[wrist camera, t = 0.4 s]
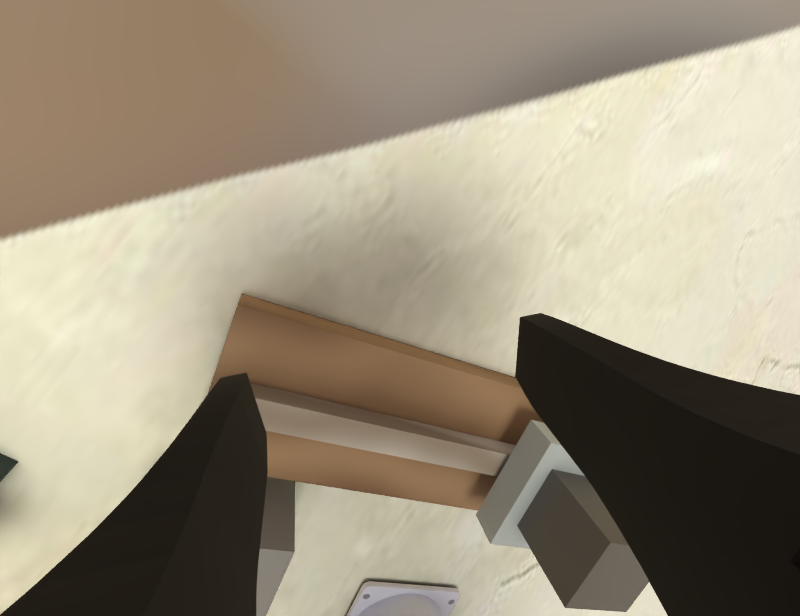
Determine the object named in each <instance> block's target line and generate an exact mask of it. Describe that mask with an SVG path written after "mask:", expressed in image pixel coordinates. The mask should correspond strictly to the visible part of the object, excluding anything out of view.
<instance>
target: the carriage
mask: <svg viewBox="0 0 800 616" xmlns="http://www.w3.org/2000/svg"><path fill="white" fill-rule="evenodd" d="M476 516H477V518H478V520H479V522H480V524H481V526H482V528H483V530H484V532H485V534H486V536H487V538H488V540H489V542H490V544H497V545H504V546H512V547H520V548H528V549H531V550H532V552H533V554H534V555H535V557H536V559H537V561H538V562H539V564H540V566H541V567H542V569H543V571H544V573H545V574H546V576H547V578H548V579H549V581H550V583H551V584H552V586H553V588H554V590H555V591H556V593H557V595H558V596H559V598H560V600H561V602H562V603H563V605H564V607H565V608H576V609H591V610H606V611H621V612H627V610H628V609H629V608H630V606H631V605H632V604H633V602H634V601H635V600H636V598H637V597H638V596H639V594H640V593H641V592H642V590H643V589H644V588H645V586H646V585H647V584H648V582H649V580H648V578H647V576H646V575H645V573H644V571H643V569H642V567H641V566H640V564H639V562H638V560H637V559H636V557H635V555H634V554H633V552H632V550H631V548H630V547H629V545H628V543H627V542H626V540H625V538H624V537H623V535H622V533H621V531H620V530H619V528H618V526H617V525H616V523H615V521H614V520H613V518H612V517H611V515H610V513H609V512H608V510H607V509H606V507H605V505H604V504H603V502H602V501H601V499H600V497H599V496H598V494H597V493H596V491H595V489H594V488H593V487H592V485H591V484H590V482H589V481H588V480H587V478H586V477H585V475H584V474H583V473H582V471H581V470H580V469H579V467H578V466H577V465H576V464H575V462H574V461H573V460H572V458H571V457H570V456H569V454H568V453H567V452H566V451H565V449H564V448H563V447H562V445H561V444H560V443H559V442H558V440H557V439H556V438H555V436H554V435H553V434H552V432H551V431H550V430H549V429H548V427H547V426H546V425H545V423H542V422H539V421H535V420H531V421H530V422H529V424H528V426H527V427H526V429H525V431H524V433H523V434H522V436H521V438H520V440H519V441H518V443H517V445H516V446H515V448H514V450H513V452H512V453H511V455H510V457H509V459H508V460H507V462H506V464H505V465H504V467H503V469H502V471H501V472H500V474H499V476H498V478H497V479H496V481H495V483H494V484H493V486H492V488H491V490H490V491H489V493H488V495H487V497H486V498H485V500H484V502H483V503H482V505H481V507H480V509H479V510H478V512H477V514H476Z"/></svg>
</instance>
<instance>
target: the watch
mask: <svg viewBox="0 0 800 616" xmlns="http://www.w3.org/2000/svg"><path fill="white" fill-rule="evenodd" d="M17 463H18V461H15V460H13V459H11V458H9V457H7V456H4V455H2V454H0V482H1V480H2V479H3V478H4V477H5V476H6V475H7V474H8V473H9V471H10V470H11V469H12V468H13V467H14V466H15V465H16V464H17Z"/></svg>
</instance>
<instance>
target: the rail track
mask: <svg viewBox="0 0 800 616" xmlns="http://www.w3.org/2000/svg"><path fill="white" fill-rule="evenodd" d="M246 372H247V375H248V378H249V381H250V384H251V387H252V390H253V393H254V397H255V400H256V403H257V406H258V409H259V412H260V415H261V418H262V421H263V424H264V427H265V430H266V433H267V465H268V473H267V477H272V478H279V479H285V480H291V481H297V482H304V483H310V484H316V485H322V486H329V487H335V488H341V489H347V490H354V491H360V492H366V493H372V494H379V495H385V496H391V497H397V498H404V499H410V500H416V501H422V502H429V503H435V504H441V505H448V506H454V507H460V508H466V509H473V510H479V509H480V507H481V505H482V503H483V502H484V500H485V498H486V497H487V495H488V493H489V491H490V490H491V488H492V486H493V484H494V483H495V481H496V479H497V478H498V476H499V474H500V472H501V471H502V469H503V467H504V465H505V464H506V462H507V460H508V459H509V457H510V455H511V453H512V452H513V450H514V448H515V446H516V445H517V443H518V441H519V440H520V438H521V436H522V434H523V433H524V431H525V429H526V427H527V426H528V424H529V422H530V421H531V420H535V421H539V422H542V423H544V422H543V421H542V419H541V418H540V417H539V415H538V414H537V413H536V411H535V410H534V409H533V407H532V405H531V404H530V402H529V400H528V399H527V397H526V395H525V394H524V392H523V390H522V388H521V386H520V384H519V383H518V381H517V379H516V378H514V377H511V376H508V375H504V374H501V373H498V372H495V371H491V370H488V369H485V368H482V367H478V366H475V365H472V364H469V363H465V362H462V361H459V360H456V359H452V358H449V357H446V356H443V355H439V354H436V353H433V352H429V351H426V350H423V349H420V348H416V347H413V346H410V345H407V344H403V343H400V342H397V341H394V340H390V339H387V338H384V337H381V336H377V335H374V334H371V333H367V332H364V331H361V330H358V329H354V328H351V327H348V326H345V325H341V324H338V323H335V322H332V321H328V320H325V319H322V318H319V317H315V316H312V315H309V314H306V313H302V312H299V311H296V310H292V309H289V308H286V307H283V306H279V305H276V304H273V303H270V302H266V301H263V300H260V299H257V298H253V297H250V296H247V295H244V294H242V295H241V298H240V301H239V303H238V306H237V309H236V312H235V315H234V318H233V321H232V324H231V327H230V330H229V333H228V336H227V339H226V342H225V345H224V348H223V351H222V354H221V357H220V360H219V363H218V366H217V369H216V372H215V375H214V378H213V381H212V384H211V386H210V389H209V392H210V391H211V390H212V388H213V387H214V386H215V384H216V383H217V382H218V380H219V379H220V378H222V377H227V376H232V375H236V374H241V373H246ZM209 392H208V394H209Z"/></svg>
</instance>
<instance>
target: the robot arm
mask: <svg viewBox="0 0 800 616" xmlns="http://www.w3.org/2000/svg"><path fill="white" fill-rule="evenodd" d="M515 377H516V379H517V381H518V383H519V384H520V386H521V388H522V390H523V392H524V394H525V395H526V397H527V399H528V400H529V402H530V404H531V405H532V407H533V409H534V410H535V411H536V413H537V414H538V415H539V417H540V418H541V419H542V421H543V422H544V423H545V425H546V426H547V427H548V429H549V430H550V431H551V432H552V434H553V435H554V436H555V438H556V439H557V440H558V442H559V443H560V444H561V445H562V447H563V448H564V449H565V451H566V452H567V453H568V454H569V456H570V457H571V458H572V460H573V461H574V462H575V464H576V465H577V466H578V467H579V469H580V470H581V471H582V473H583V474H584V475H585V477H586V478H587V480H588V481H589V482H590V484H591V485H592V487H593V488H594V489H595V491H596V493H597V494H598V496H599V497H600V499H601V501H602V502H603V504H604V505H605V507H606V509H607V510H608V512H609V513H610V515H611V517H612V518H613V520H614V521H615V523H616V525H617V526H618V528H619V530H620V531H621V533H622V535H623V537H624V538H625V540H626V542H627V543H628V545H629V547H630V548H631V550H632V552H633V554H634V555H635V557H636V559H637V560H638V562H639V564H640V566H641V567H642V569H643V571H644V573H645V575H646V576H647V578H648V580H649V582H650V584H651V586H652V587H653V589H654V591H655V593H656V595H657V596H658V598H659V600H660V602H661V604H662V606H663V607H664V609H665V611H666V613H667V615H668V616H800V395H796V394H791V393H786V392H781V391H776V390H771V389H767V388H763V387H758V386H754V385H749V384H745V383H741V382H736V381H733V380H729V379H725V378H721V377H717V376H713V375H710V374H707V373H703V372H700V371H696V370H693V369H689V368H686V367H682V366H679V365H676V364H673V363H670V362H667V361H664V360H661V359H658V358H656V357H653V356H650V355H647V354H644V353H642V352H639V351H636V350H633V349H631V348H628V347H626V346H623V345H620V344H618V343H615V342H613V341H610V340H608V339H605V338H603V337H600V336H598V335H596V334H593V333H591V332H588V331H586V330H583V329H581V328H579V327H576V326H574V325H571V324H569V323H566V322H564V321H561V320H559V319H556V318H554V317H551V316H548V315H545V314H542V313H539V314H534V315H529V316H524V317H520V324H519V337H518V350H517V362H516V375H515ZM267 473H268V465H267V433H266V430H265V427H264V424H263V421H262V418H261V415H260V412H259V409H258V406H257V403H256V400H255V397H254V393H253V390H252V387H251V384H250V381H249V378H248V375H247V372H246V373H241V374H236V375H232V376H227V377H222V378H220V379H219V380H218V382H217V383H216V384H215V386H214V387H213V388H212V390H211V391H210V392H209V394H208V395H207V396H206V398H205V399H204V401H203V402H202V403H201V405H200V406H199V408H198V409H197V410H196V412H195V413H194V414H193V416H192V417H191V419H190V420H189V421H188V423H187V424H186V425H185V427H184V428H183V429H182V431H181V432H180V433H179V435H178V436H177V437H176V438H175V440H174V441H173V442H172V444H171V445H170V446H169V448H168V449H167V450H166V451H165V452H164V454H163V455H162V456H161V457H160V458H159V460H158V461H157V462H156V463H155V464H154V466H153V467H152V468H151V469H150V470H149V472H148V473H147V474H146V475H145V476H144V478H143V479H142V480H141V481H140V482H139V483H138V485H137V486H136V487H135V488H134V489H133V490H132V491H131V492H130V493H129V494H128V496H127V497H126V498H125V499H124V500H123V501H122V502H121V503H120V504H119V505H118V506H117V507H116V508H115V509H114V510H113V511H112V512H111V513H110V514H109V515H108V516H107V517H106V518H105V519H104V521H103V522H102V523H101V524H100V525H99V526H98V527H97V528H96V529H95V530H94V531H93V532H92V533H91V534H90V535H89V536H87V537H86V538H85V539H84V540H83V541H82V542H81V543H80V544H79V545H78V546H77V547H76V548H74V549H73V550H72V551H71V552H70V553H69V554H68V555H67V556H66V557H65V558H64V559H63V560H62V561H60V562H59V563H58V564H57V565H56V566H55V567H54V568H53V569H52V570H51V571H50V572H49V573H47V574H46V575H45V576H44V577H43V578H42V579H41V580H40V581H39V582H38V583H37V584H35V585H34V586H33V587H32V588H31V589H30V590H29V591H27V592H26V593H25V594H24V595H23V596H22V597H20V598H19V599H18V600H17V601H16V602H15V603H13V604H12V605H11V606H10V607H9V608H8V609H6V610H5V611H4V612H3V613H2V614H1V615H0V616H256V594H257V573H258V561H259V551H260V542H261V532H262V523H263V513H264V504H265V494H266V484H267ZM459 597H460V593H459V590H458V589H457V588H449V587H437V586H424V585H411V584H399V583H386V582H373V581H368V582H366V583H364V584H363V585H362V587H361V589H360V591H359V592H358V594H357V596H356V598H355V600H354V602H353V604H352V606H351V608H350V610H349V612H348V614H347V616H448V615H449V614H450V612H451V610H452V609H453V607H454V605H455V604H456V602H457V601H458V599H459Z"/></svg>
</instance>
